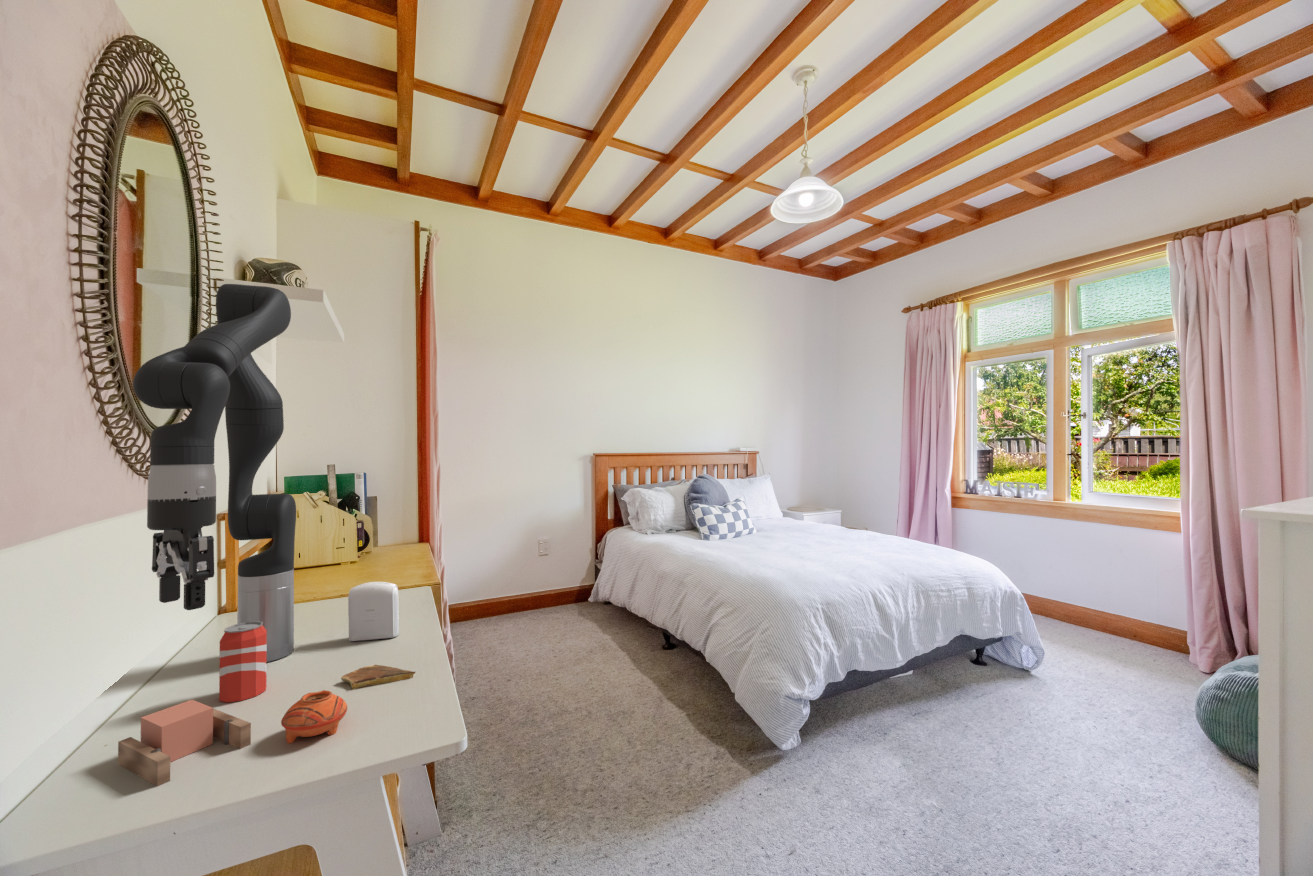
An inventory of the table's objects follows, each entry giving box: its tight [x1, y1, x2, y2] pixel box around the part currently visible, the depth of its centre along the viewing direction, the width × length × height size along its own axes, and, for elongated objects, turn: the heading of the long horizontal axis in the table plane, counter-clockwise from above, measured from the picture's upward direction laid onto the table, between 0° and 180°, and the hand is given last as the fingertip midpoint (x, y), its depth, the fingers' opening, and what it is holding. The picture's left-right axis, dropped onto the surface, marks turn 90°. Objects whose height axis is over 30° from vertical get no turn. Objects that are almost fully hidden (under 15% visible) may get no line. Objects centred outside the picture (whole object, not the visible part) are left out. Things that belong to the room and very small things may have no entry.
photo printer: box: [347, 581, 400, 642], centre depth 115 cm, size 10×4×12 cm, turn 99°
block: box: [140, 699, 214, 763], centre depth 70 cm, size 6×6×5 cm
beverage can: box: [218, 621, 268, 703], centre depth 87 cm, size 6×6×12 cm
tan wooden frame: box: [117, 708, 252, 788], centre depth 68 cm, size 15×10×4 cm, turn 64°
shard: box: [340, 664, 416, 690], centre depth 92 cm, size 11×8×2 cm
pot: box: [280, 689, 348, 744], centre depth 74 cm, size 8×8×7 cm
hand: (181, 604), depth 76 cm, fingers open, 8 cm apart
